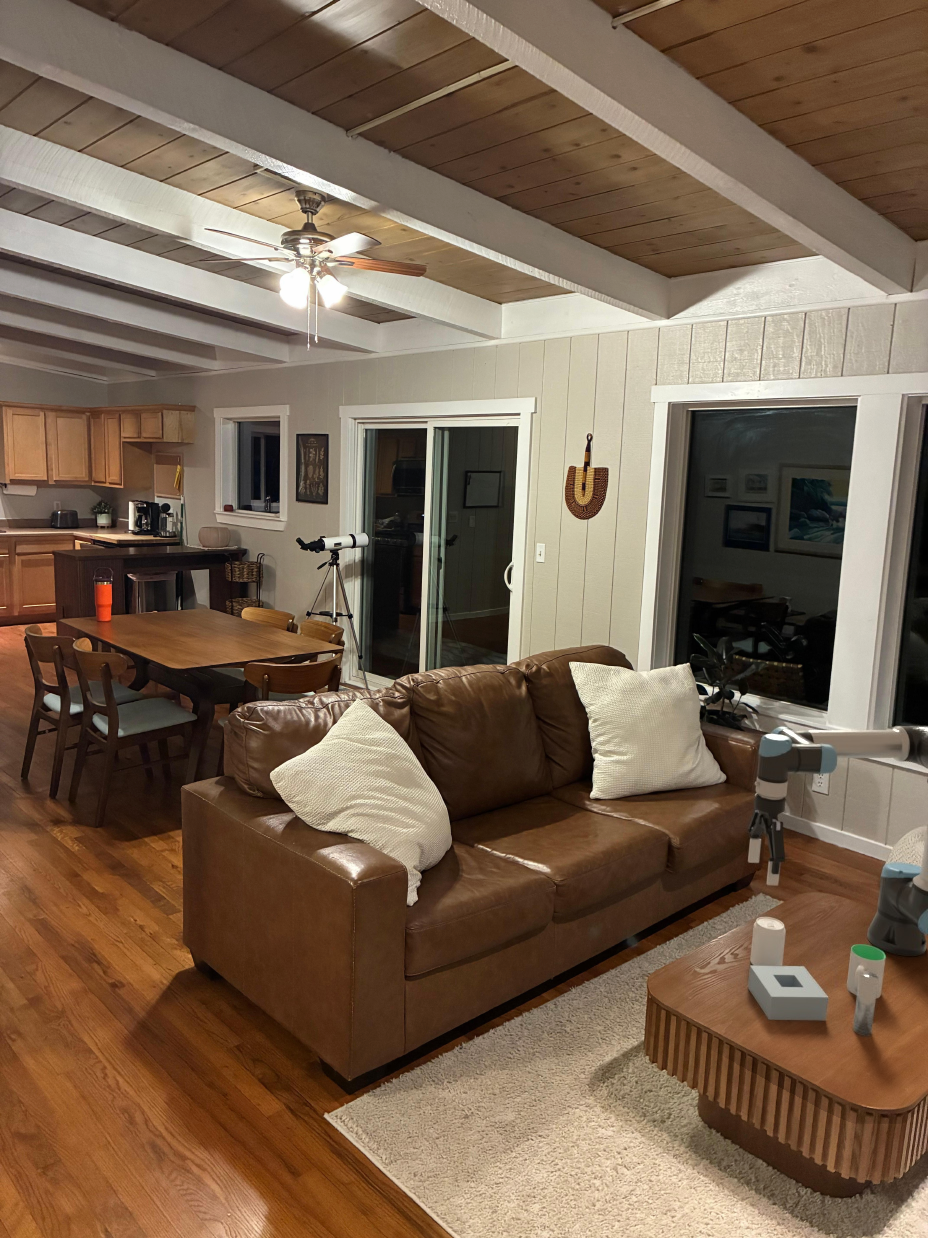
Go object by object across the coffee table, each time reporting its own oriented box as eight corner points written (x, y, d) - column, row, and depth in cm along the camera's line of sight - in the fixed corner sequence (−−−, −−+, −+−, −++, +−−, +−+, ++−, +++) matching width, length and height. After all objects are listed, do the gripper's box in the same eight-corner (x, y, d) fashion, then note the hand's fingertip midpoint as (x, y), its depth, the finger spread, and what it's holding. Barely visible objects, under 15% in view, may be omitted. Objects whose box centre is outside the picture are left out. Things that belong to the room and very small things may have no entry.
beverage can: (777, 959, 246) (782, 917, 245) (785, 974, 238) (789, 932, 237) (747, 956, 247) (751, 914, 245) (753, 971, 239) (757, 929, 237)
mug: (874, 1010, 224) (879, 970, 222) (840, 998, 228) (844, 959, 227) (883, 989, 234) (888, 951, 232) (850, 978, 238) (854, 941, 237)
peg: (866, 1026, 217) (872, 971, 215) (874, 1036, 213) (881, 980, 211) (849, 1025, 217) (856, 971, 215) (858, 1036, 213) (864, 980, 211)
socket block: (801, 988, 232) (803, 966, 231) (825, 1020, 218) (828, 997, 218) (747, 987, 231) (750, 965, 230) (768, 1020, 218) (771, 996, 217)
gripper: (739, 778, 245) (732, 853, 248) (774, 812, 220) (765, 894, 223) (767, 779, 245) (759, 854, 248) (804, 813, 220) (795, 895, 224)
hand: (762, 873), depth 236 cm, fingers open, 13 cm apart
